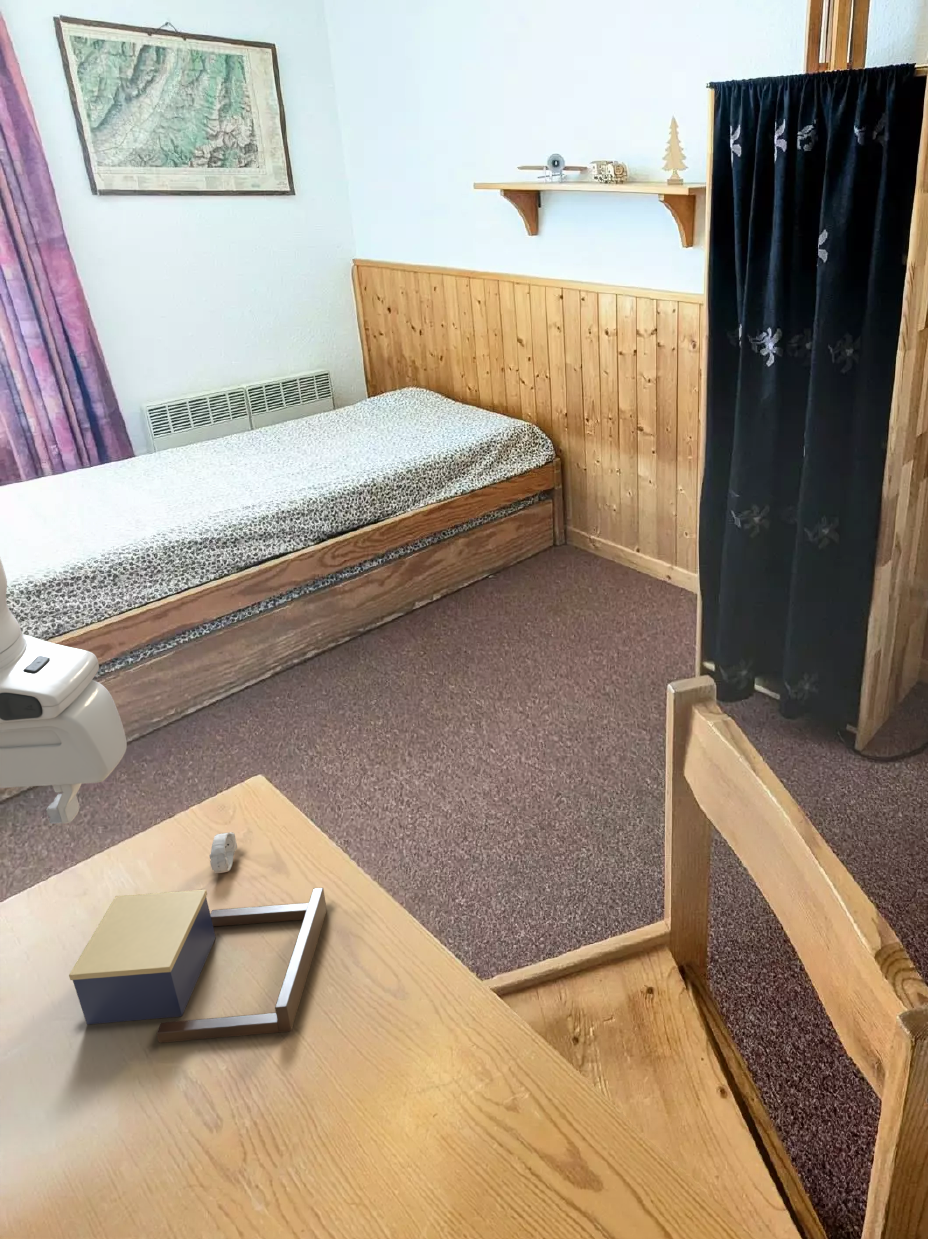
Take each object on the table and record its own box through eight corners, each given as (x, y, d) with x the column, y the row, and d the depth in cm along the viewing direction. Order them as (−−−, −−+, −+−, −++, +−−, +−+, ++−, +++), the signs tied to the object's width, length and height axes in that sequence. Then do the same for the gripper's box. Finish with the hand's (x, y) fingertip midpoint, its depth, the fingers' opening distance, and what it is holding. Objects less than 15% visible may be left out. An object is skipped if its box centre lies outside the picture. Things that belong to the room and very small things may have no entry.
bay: (158, 1043, 70) (151, 1018, 69) (214, 918, 82) (208, 895, 81) (291, 1031, 72) (286, 1006, 70) (327, 909, 83) (323, 887, 82)
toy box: (84, 1025, 72) (68, 975, 70) (129, 943, 80) (115, 895, 77) (182, 1017, 73) (169, 967, 71) (217, 936, 80) (206, 889, 78)
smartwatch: (232, 879, 87) (226, 849, 85) (210, 882, 86) (203, 852, 85) (239, 853, 90) (233, 824, 89) (218, 856, 90) (212, 827, 88)
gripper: (-221, 711, 60) (-160, 858, 65) (76, 698, 62) (114, 842, 67) (-152, 663, 66) (-101, 801, 71) (117, 652, 68) (149, 788, 73)
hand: (6, 821), depth 69 cm, fingers open, 8 cm apart
